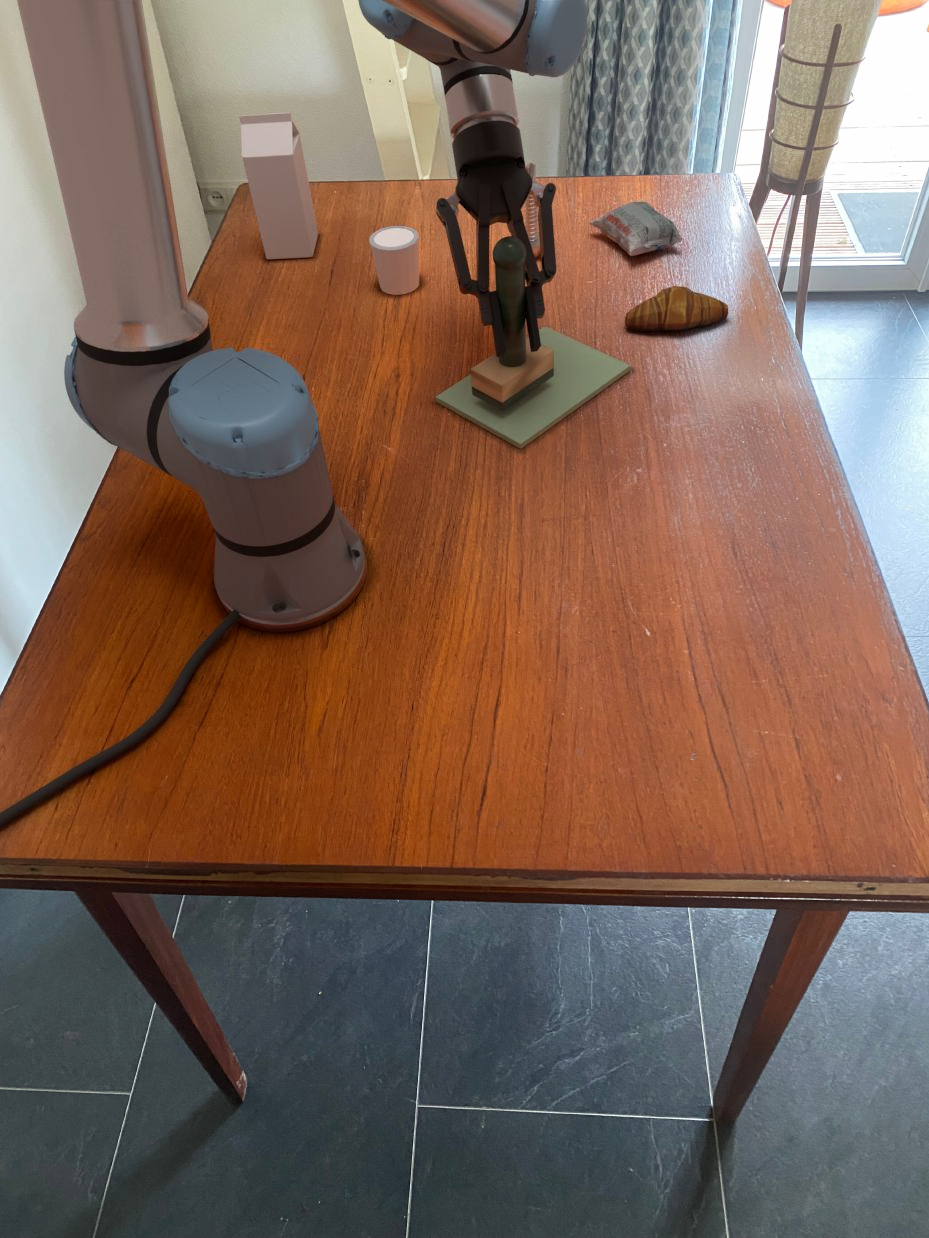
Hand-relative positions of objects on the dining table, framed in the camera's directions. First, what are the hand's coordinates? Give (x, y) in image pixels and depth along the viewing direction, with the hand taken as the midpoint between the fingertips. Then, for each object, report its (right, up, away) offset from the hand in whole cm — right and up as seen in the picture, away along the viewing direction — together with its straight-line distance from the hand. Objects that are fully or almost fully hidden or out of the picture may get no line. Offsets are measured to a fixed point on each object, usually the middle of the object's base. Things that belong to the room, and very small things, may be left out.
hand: (518, 351), depth 100 cm
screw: (+4, +24, +32) cm, 40 cm away
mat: (+3, -1, +11) cm, 11 cm away
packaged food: (+19, +25, +32) cm, 45 cm away
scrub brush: (0, -2, +8) cm, 8 cm away
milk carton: (-32, +27, +38) cm, 57 cm away
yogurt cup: (-15, +18, +29) cm, 37 cm away
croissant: (+22, +9, +18) cm, 29 cm away
